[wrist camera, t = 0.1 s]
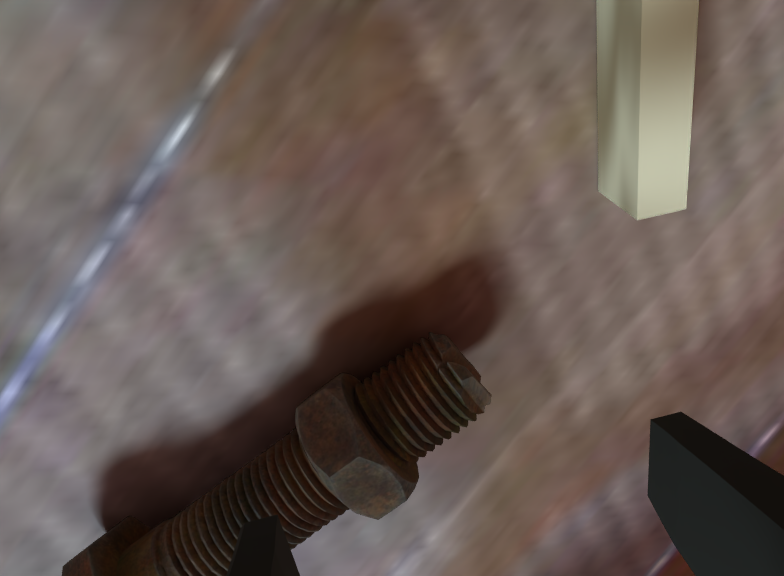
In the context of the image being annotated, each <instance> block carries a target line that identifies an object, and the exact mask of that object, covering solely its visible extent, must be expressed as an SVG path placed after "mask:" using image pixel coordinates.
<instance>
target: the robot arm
mask: <svg viewBox="0 0 784 576" xmlns="http://www.w3.org/2000/svg"><path fill="white" fill-rule="evenodd" d="M648 497H649V499H650V501H651V503H652V505H653V507H654V508H655V510H656V512H657V514H658V516H659V518H660V520H661V522H662V524H663V525H664V527H665V529H666V531H667V532H668V534H669V536H670V538H671V540H672V541H673V543H674V545H675V546H676V548H677V549H678V551H679V552H680V554H681V555H682V557H683V558H684V560H685V561H686V562H687V564H688V565H689V567H690V568H691V570H692V571H693V572H694V574H695V575H696V576H784V476H783V475H782V474H780V473H778V472H777V471H775V470H773V469H772V468H770V467H768V466H767V465H765V464H763V463H762V462H760V461H759V460H757V459H755V458H754V457H752V456H750V455H749V454H747V453H746V452H744V451H742V450H741V449H739V448H738V447H736V446H734V445H733V444H731V443H730V442H728V441H727V440H725V439H723V438H722V437H720V436H719V435H717V434H716V433H714V432H712V431H711V430H709V429H708V428H706V427H705V426H703V425H701V424H700V423H698V422H697V421H695V420H693V419H692V418H690V417H689V416H687V415H685V414H684V413H682V412H678V413H674V414H670V415H666V416H663V417H659V418H655V419H651V425H650V450H649V474H648ZM226 576H300V574H299V572H298V569H297V566H296V563H295V561H294V558H293V555H292V552H291V550H290V547H289V544H288V541H287V539H286V536H285V533H284V530H283V528H282V525H281V522H280V519H279V517H278V514H277V515H273V516H269V517H265V518H261V519H258V520H254V521H250V522H246V523H244V524H243V526H242V527H241V528H240V532H239V535H238V539H237V543H236V546H235V549H234V553H233V556H232V559H231V562H230V565H229V568H228V571H227V574H226Z"/></svg>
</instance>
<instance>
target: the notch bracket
mask: <svg viewBox="0 0 784 576" xmlns="http://www.w3.org/2000/svg"><path fill="white" fill-rule="evenodd" d="M596 2H597V103H598V191H599V192H600V193H601V194H603V195H604V196H605V197H607V198H608V199H609V200H611V201H612V202H613V203H615V204H616V205H617V206H619V207H620V208H621V209H623V210H624V211H625V212H627V213H628V214H629V215H631V216H632V217H633V218H635V219H636V220H641V219H645V218H649V217H654V216H658V215H662V214H666V213H671V212H675V211H679V210H684V209H686V203H687V187H688V171H689V155H690V139H691V123H692V107H693V90H694V74H695V58H696V42H697V26H698V10H699V0H596Z"/></svg>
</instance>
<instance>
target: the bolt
mask: <svg viewBox="0 0 784 576" xmlns="http://www.w3.org/2000/svg"><path fill="white" fill-rule="evenodd" d="M480 380H481V376H480V374H479V373H478V372H477V370H476V369H475V368H474V366H473V365H472V364H471V363H470V362H469V361H468V360H467V359H466V358H465V357H464V356H463V354H462V353H461V352H460V351H459V350H458V348H457V347H456V346H455V345H454V344H453V342H452V341H451V340H450V339H449V338H448V337H447V336H445V335H436V334H434V333H431V332H429V340H428V339H425V338H422V337H421V345H420V344H418V343H415V342H414V344H413V350H411V349H408V348H407V349H405V356H402V355H399V354H398V355H397V360H396V362H395V361H392V360H389V365H388V367H385V366H382V367H380V373H377V372H373V374H372V379H371V378H368V377H367V378H365V379H364V385H363V384H362V383H361V382H360V381H359V380H358V379H357V378H356V377H354V376H352V375H350V374H345V373H341V374H339V375H338V376H337V377H335V378H334V379H332V380H331V381H330V382H328V383H327V384H326V385H324V386H323V387H322V388H320V389H319V390H318V391H316V392H315V393H313V394H312V395H311V396H310V397H308V398H307V399H306V400H305V401H303V402H302V403H301V404H300V405H299V406H298V407H297V408H296V413H295V422H296V427H297V429H294V430H293V431H292V433H291V434H287V435H286V436H285V437H284V438H283V440H279V441H277V442H276V445H273V446H272V447H270V448H269V449H268V450H267V451H265V452H264V453H262V454H261V455H260V456H258V457H256V458H255V459H254V460H253V462H249V463H247V465H246V466H245V467H243V468H241V469H239V470H238V471H237V472H236V473H234V474H233V475H231V476H230V477H229V478H227V479H225V480H224V481H223V482H222V483H221V484H218V485H217V486H216V487H215V488H214V489H212V490H211V491H209V492H208V493H206V495H203V496H202V497H201V498H199V500H197V501H195V502H194V503H193V504H191V505H190V506H188V507H187V508H186V509H185V510H184V511H181V512H180V513H179V514H177V515H176V516H175V517H173V518H172V519H169V520H165V521H164V522H162V523H161V524H159V525H158V526H156V527H155V528H154V529H150V528H149V527H147V526H146V525H144V524H143V523H141V522H140V521H138V520H137V519H135V518H134V517H132V516H128V517H127V518H126V519H124V520H123V521H122V522H120V523H119V524H118V525H116V526H115V527H114V528H112V529H111V530H109V531H108V532H107V533H105V534H104V535H103V536H101V537H100V538H99V539H97V540H96V541H95V542H93V543H92V544H91V545H90V546H88V547H87V548H86V549H84V550H83V551H82V552H80V553H79V554H78V555H76V556H75V557H74V558H73V559H71V560H70V561H69V562H67V563H66V564H65V565H64V566H63V570H62V576H226V574H227V571H228V568H229V565H230V562H231V559H232V556H233V553H234V549H235V546H236V543H237V539H238V535H239V532H240V528H241V527H242V526H243V524H244V523H246V522H250V521H254V520H258V519H261V518H265V517H269V516H273V515H277V514H278V517H279V519H280V522H281V525H282V528H283V530H284V533H285V536H286V539H287V541H288V544H289V547H290V550H291V549H293V548H295V547H296V546H297V545H298V544H300V543H302V542H303V541H305V540H306V538H308V537H311V536H312V534H313V533H314V532H315V531H319V530H320V529H321V528H322V526H323V525H327V524H328V523H329V522H330V520H334V519H336V518H337V517H338V515H342V514H344V512H345V511H346V510H349V509H351V510H352V511H353V512H355V513H357V514H360V515H363V516H367V517H370V518H374V519H377V520H379V519H380V518H382V517H383V516H385V515H386V514H388V513H389V512H391V511H392V510H394V509H395V508H396V507H398V506H399V505H401V504H402V503H404V502H405V501H407V499H408V498H409V496H410V495H411V493H412V492H413V490H414V489H415V487H416V484H417V482H418V479H419V473H418V466H417V463H416V462H417V461H418V458H419V457H425V456H426V454H427V451H433V450H434V449H435V445H442V443H443V438H445V439H450V438H451V432H455V433H459V431H460V426H462V427H467V426H468V420H471V421H476V419H477V418H476V414H481V413H484V408H485V406H486V405H488V404H490V401H491V394H490V393H489V392H488V391H487V390H486V389H485V387H484V386H483V385H482V384H481V383H480Z"/></svg>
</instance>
